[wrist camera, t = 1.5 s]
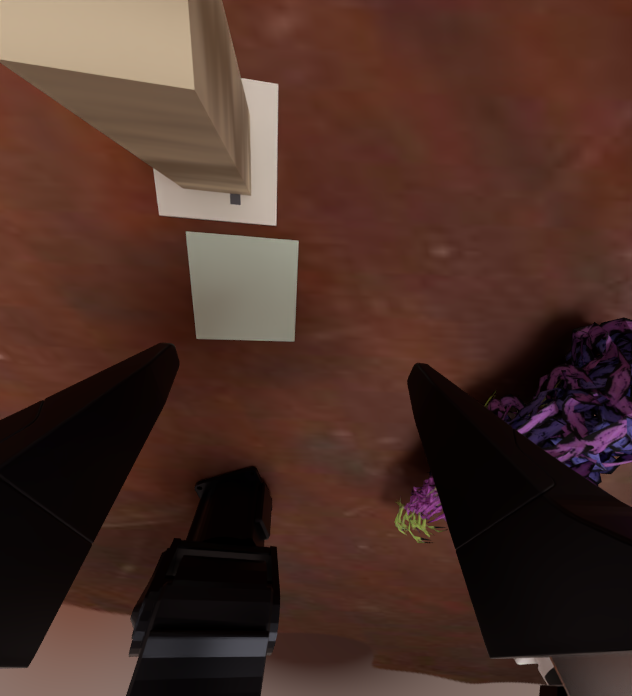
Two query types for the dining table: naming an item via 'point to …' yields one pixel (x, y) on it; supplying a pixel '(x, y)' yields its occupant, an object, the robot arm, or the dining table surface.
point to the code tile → (263, 172)
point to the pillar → (141, 80)
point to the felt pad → (243, 286)
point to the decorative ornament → (567, 413)
